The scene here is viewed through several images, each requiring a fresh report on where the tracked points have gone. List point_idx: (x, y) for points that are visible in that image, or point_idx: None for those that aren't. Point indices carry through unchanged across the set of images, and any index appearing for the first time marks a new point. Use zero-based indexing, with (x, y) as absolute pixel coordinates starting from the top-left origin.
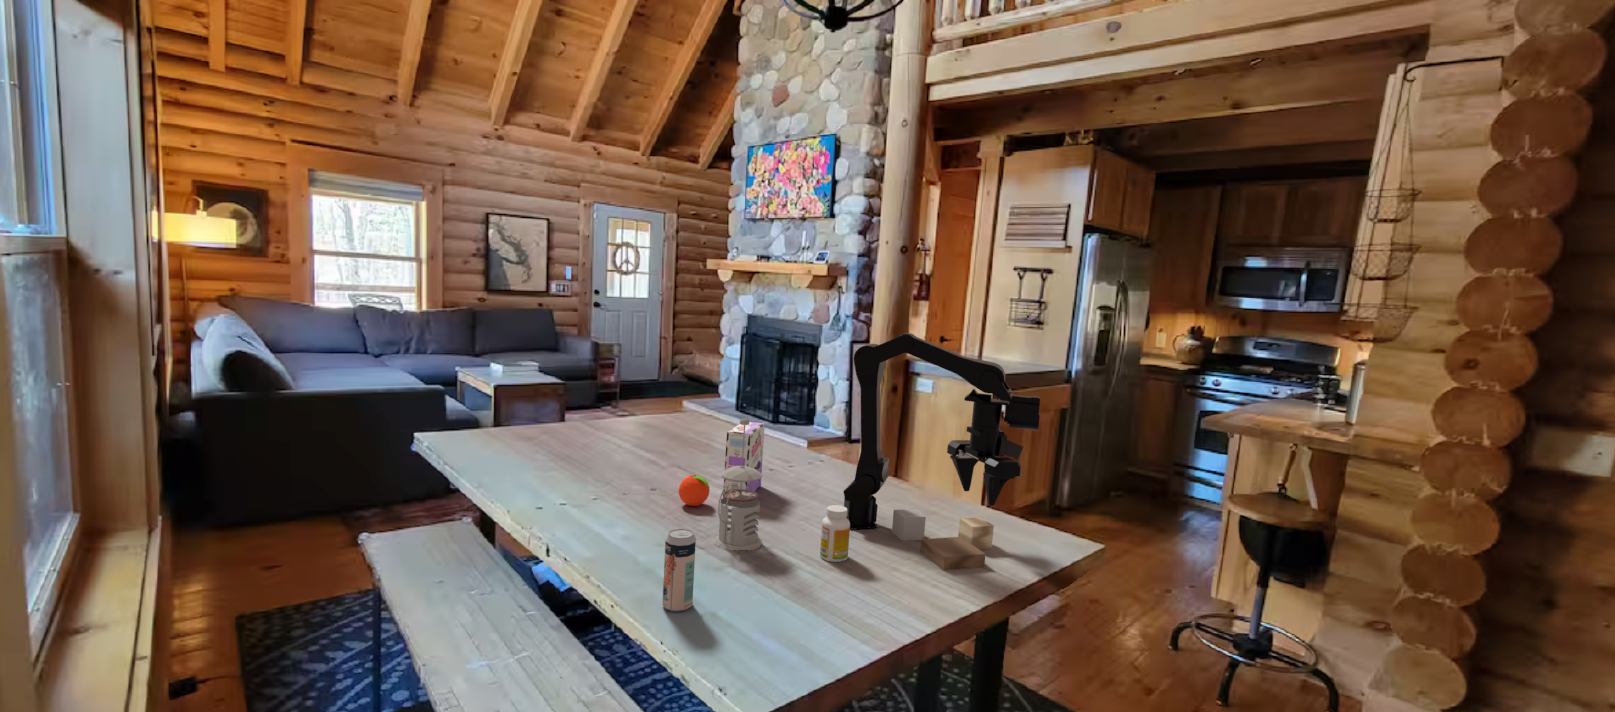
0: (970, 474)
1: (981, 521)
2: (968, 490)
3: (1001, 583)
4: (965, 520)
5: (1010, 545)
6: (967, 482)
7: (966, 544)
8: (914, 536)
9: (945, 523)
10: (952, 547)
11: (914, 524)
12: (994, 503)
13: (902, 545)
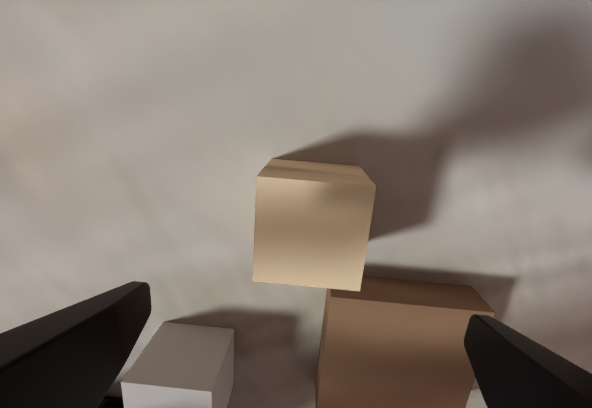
0: (21, 391)
1: (312, 210)
2: (146, 288)
3: (583, 312)
4: (281, 273)
5: (358, 66)
6: (104, 348)
7: (399, 320)
8: (230, 363)
9: (106, 180)
10: (404, 374)
11: (219, 400)
12: (501, 325)
13: (264, 400)
